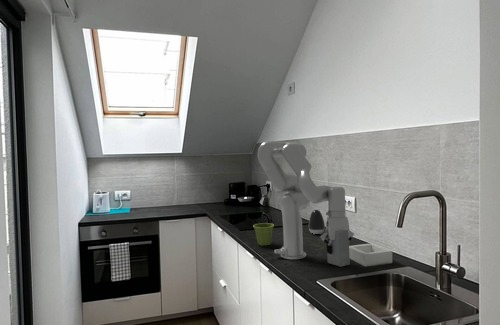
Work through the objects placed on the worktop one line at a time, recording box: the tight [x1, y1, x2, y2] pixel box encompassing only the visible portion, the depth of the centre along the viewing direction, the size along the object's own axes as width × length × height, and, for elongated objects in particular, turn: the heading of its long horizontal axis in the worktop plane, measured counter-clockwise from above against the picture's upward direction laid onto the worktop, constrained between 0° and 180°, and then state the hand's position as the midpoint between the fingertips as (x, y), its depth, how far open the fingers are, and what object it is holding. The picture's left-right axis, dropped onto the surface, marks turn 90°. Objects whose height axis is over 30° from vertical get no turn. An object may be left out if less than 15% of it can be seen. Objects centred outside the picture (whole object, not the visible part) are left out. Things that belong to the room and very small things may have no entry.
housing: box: [349, 243, 393, 268], centre depth 164 cm, size 14×15×6 cm
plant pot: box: [252, 222, 275, 246], centre depth 198 cm, size 12×12×11 cm
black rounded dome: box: [308, 209, 326, 235], centre depth 221 cm, size 10×10×15 cm
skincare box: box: [325, 230, 351, 268], centre depth 160 cm, size 8×7×16 cm
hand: (337, 252), depth 160 cm, fingers closed on skincare box, 7 cm apart
